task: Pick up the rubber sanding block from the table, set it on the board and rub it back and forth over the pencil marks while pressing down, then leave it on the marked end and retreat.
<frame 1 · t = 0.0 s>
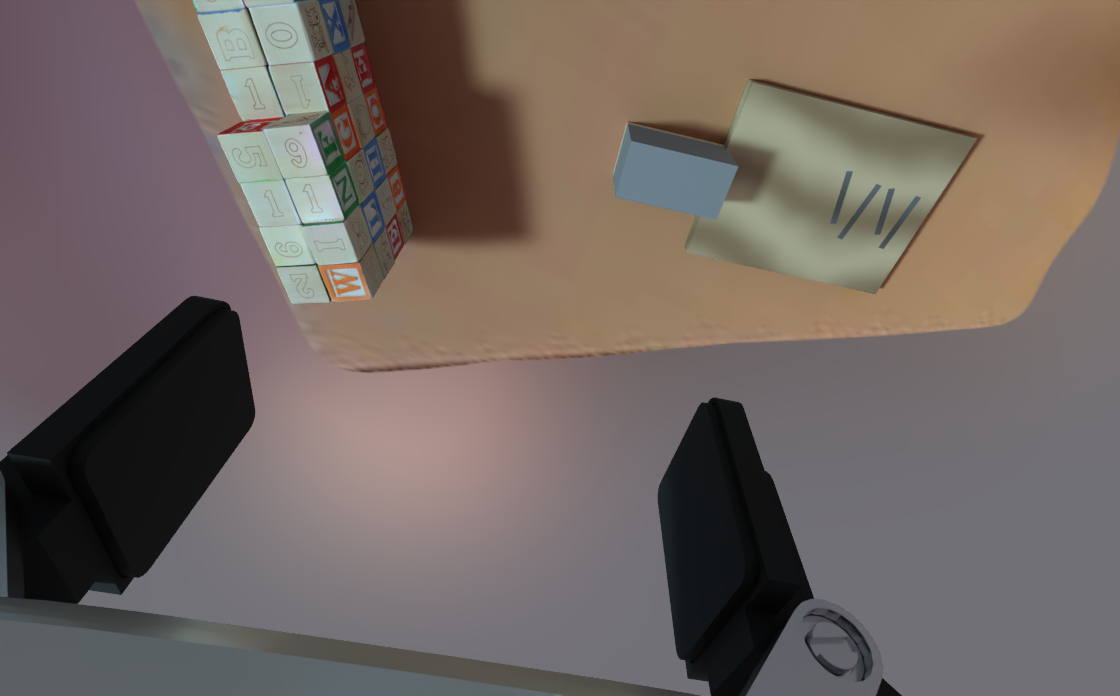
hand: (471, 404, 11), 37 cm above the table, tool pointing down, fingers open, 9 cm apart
board: (816, 194, 45), on the table
sanding block: (667, 158, 44), on the table
stack of blocks: (346, 108, 43), on the table
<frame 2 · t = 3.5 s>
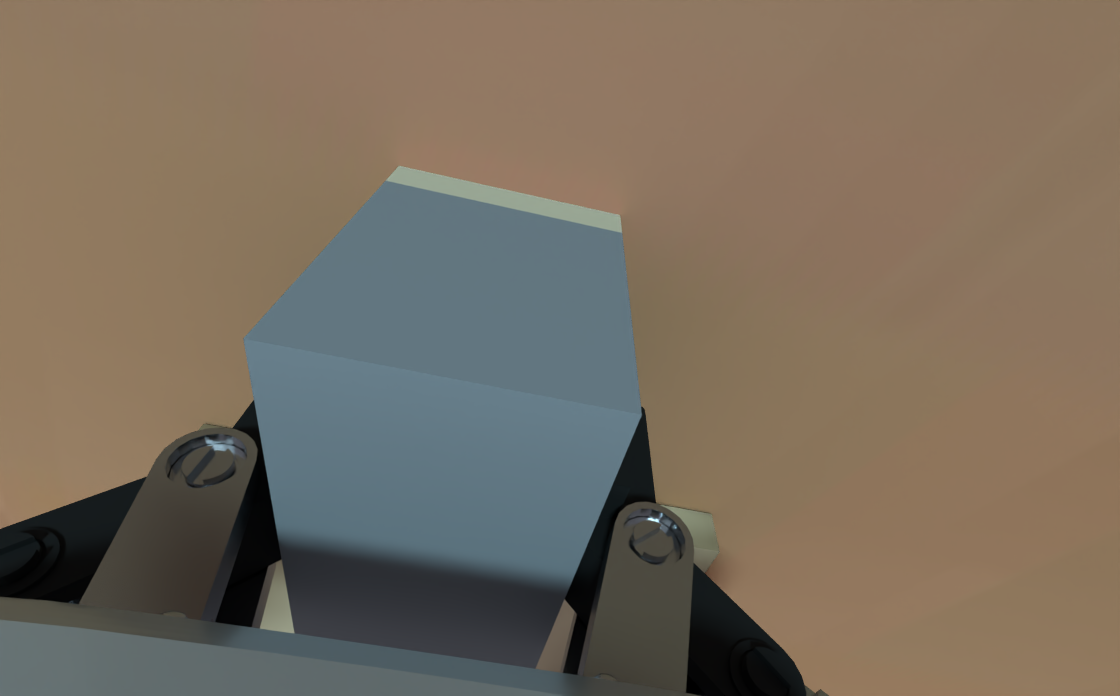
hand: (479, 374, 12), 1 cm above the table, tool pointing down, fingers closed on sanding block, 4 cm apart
board: (441, 627, 20), on the table
sanding block: (484, 356, 12), on the table, touching gripper
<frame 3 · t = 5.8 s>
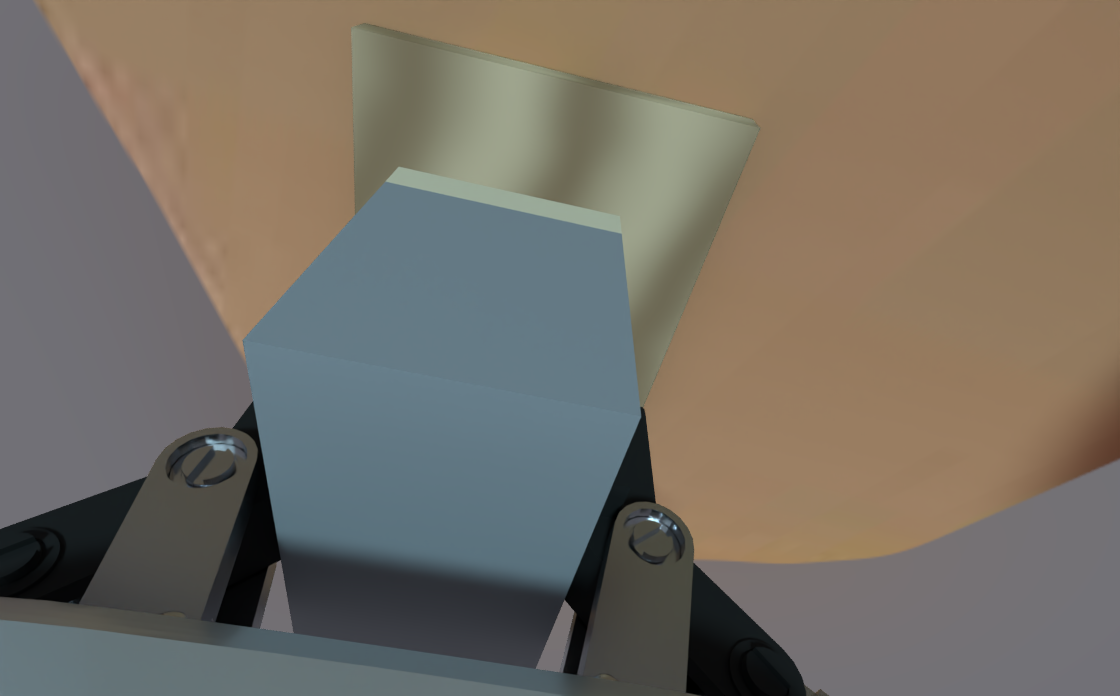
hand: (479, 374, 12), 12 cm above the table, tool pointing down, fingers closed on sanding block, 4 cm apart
board: (521, 288, 24), on the table
sanding block: (484, 356, 12), point 11 cm above the table, touching gripper
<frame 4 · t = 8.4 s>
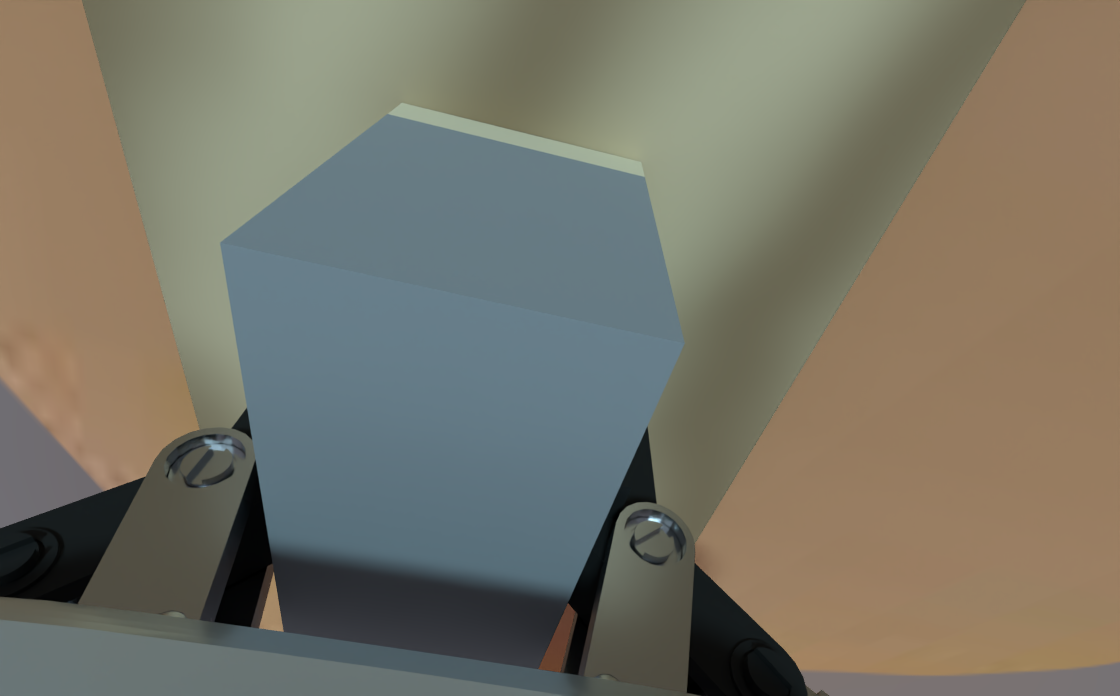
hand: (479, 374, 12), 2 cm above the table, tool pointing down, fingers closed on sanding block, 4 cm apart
board: (510, 207, 11), on the table
sanding block: (490, 321, 12), point 1 cm above the table, touching gripper
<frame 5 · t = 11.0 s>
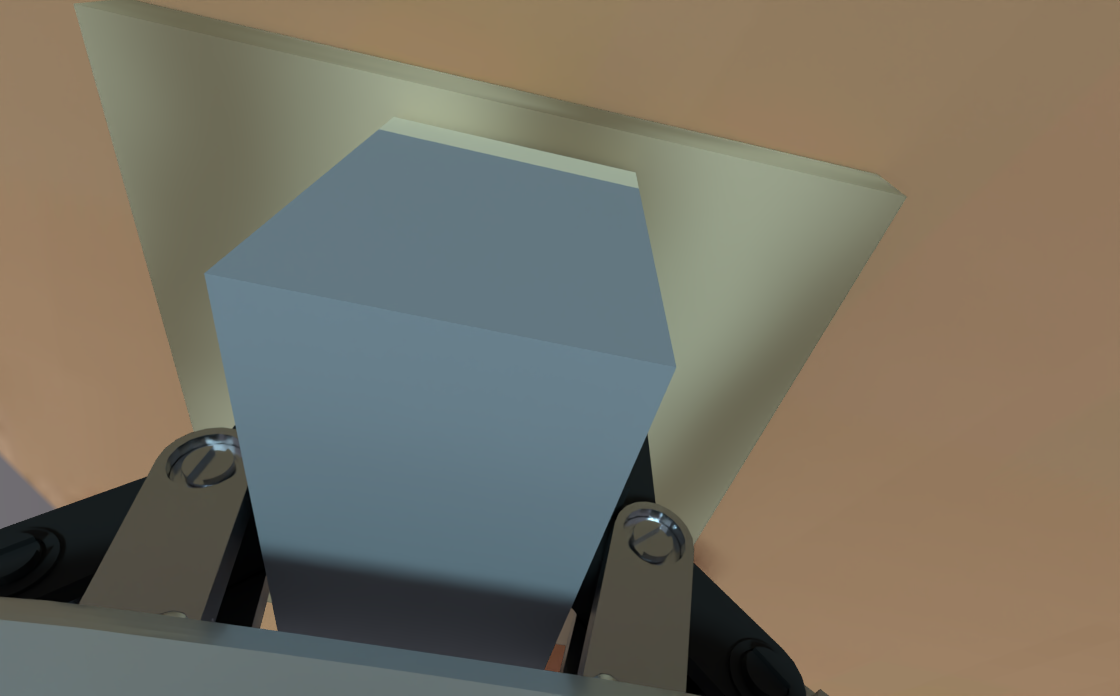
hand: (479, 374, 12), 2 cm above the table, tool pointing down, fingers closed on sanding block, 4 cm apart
board: (472, 430, 15), on the table
sanding block: (487, 332, 12), point 1 cm above the table, touching gripper
when the fingers open (2 cm above the table, at t = 13.4 s): sanding block stays where it is, resting on board.
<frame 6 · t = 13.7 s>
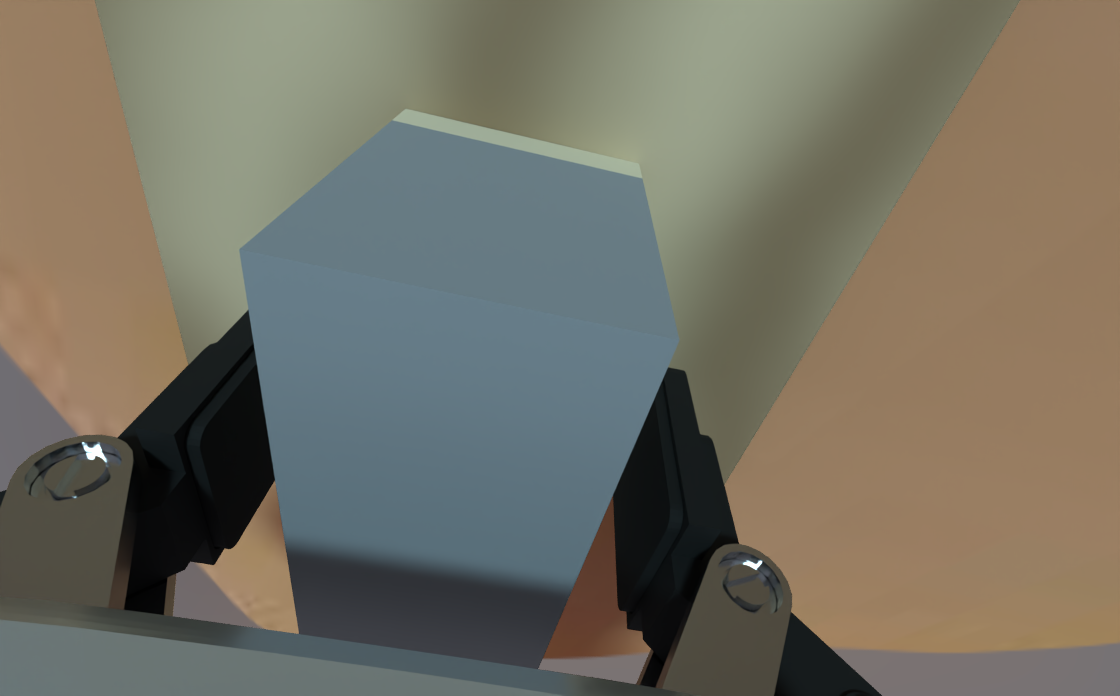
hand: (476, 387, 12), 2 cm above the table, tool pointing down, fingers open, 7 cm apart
board: (526, 120, 11), on the table
sanding block: (493, 320, 12), point 1 cm above the table, touching board
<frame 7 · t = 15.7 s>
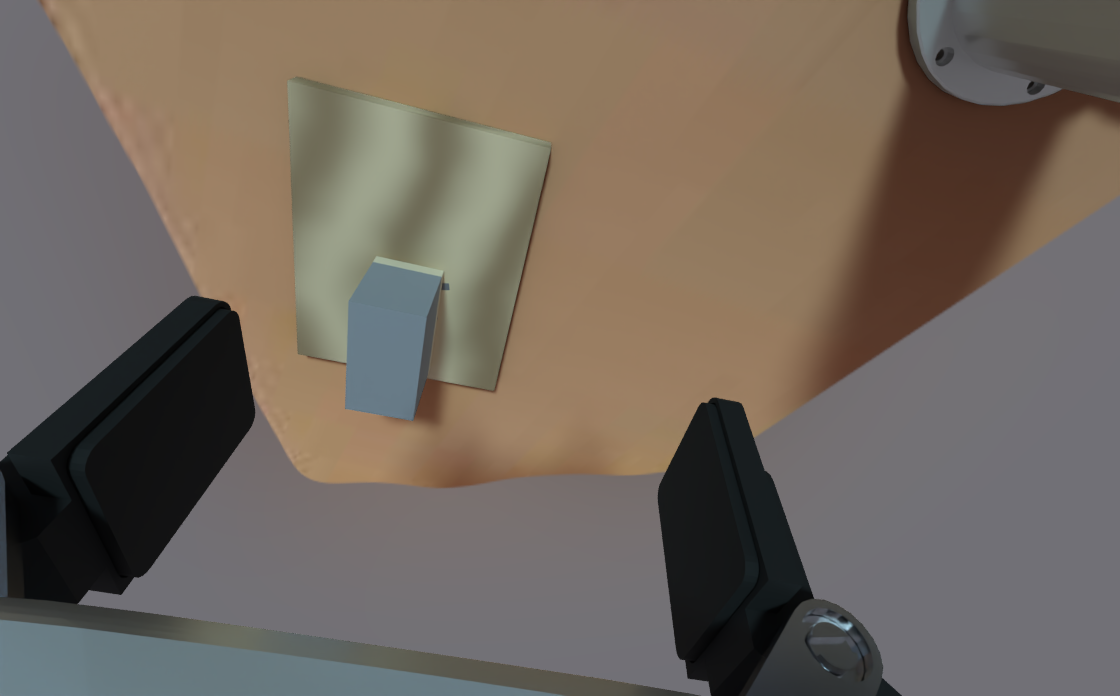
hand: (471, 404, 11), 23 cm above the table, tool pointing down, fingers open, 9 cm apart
board: (413, 255, 35), on the table
sanding block: (405, 315, 36), point 1 cm above the table, touching board
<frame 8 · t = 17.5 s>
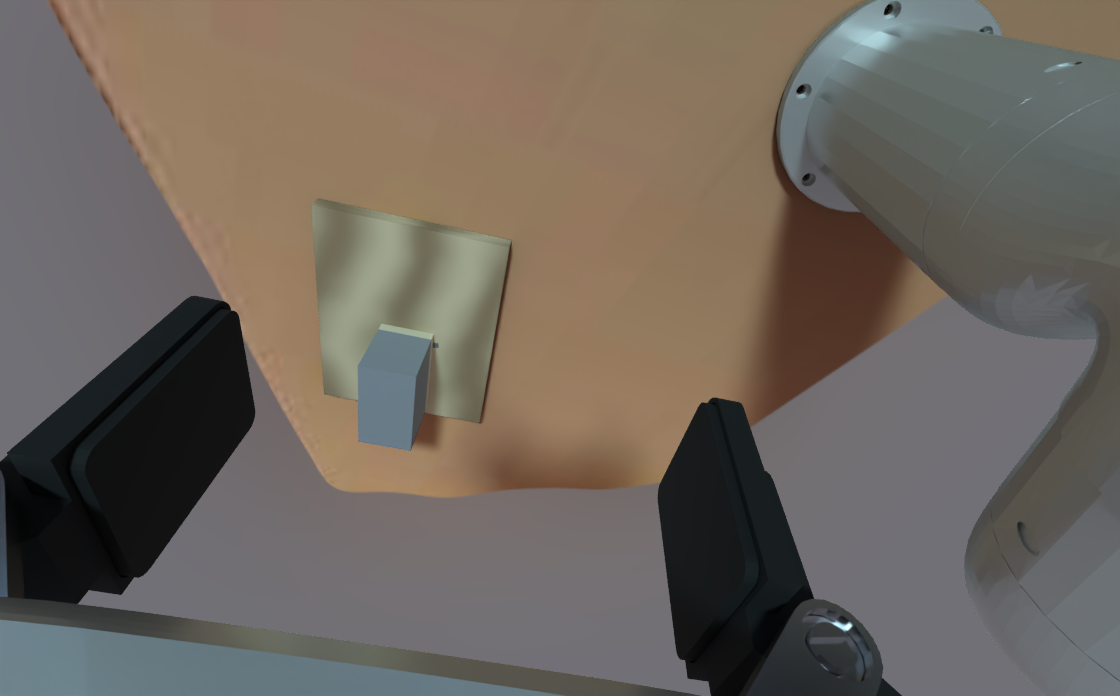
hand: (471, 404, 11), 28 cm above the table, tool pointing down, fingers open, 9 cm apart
board: (410, 320, 44), on the table
sanding block: (405, 366, 46), point 1 cm above the table, touching board
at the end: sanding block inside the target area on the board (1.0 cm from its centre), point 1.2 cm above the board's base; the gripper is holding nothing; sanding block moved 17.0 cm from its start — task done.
